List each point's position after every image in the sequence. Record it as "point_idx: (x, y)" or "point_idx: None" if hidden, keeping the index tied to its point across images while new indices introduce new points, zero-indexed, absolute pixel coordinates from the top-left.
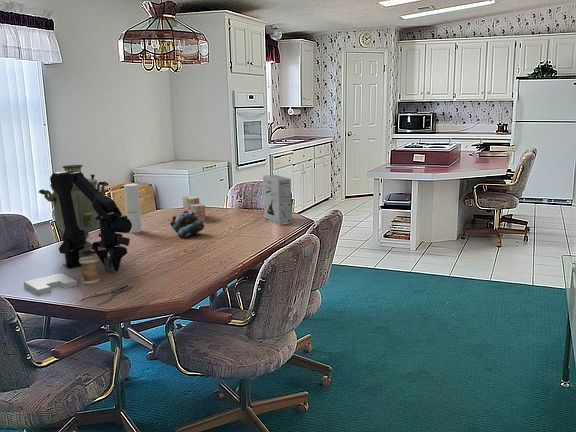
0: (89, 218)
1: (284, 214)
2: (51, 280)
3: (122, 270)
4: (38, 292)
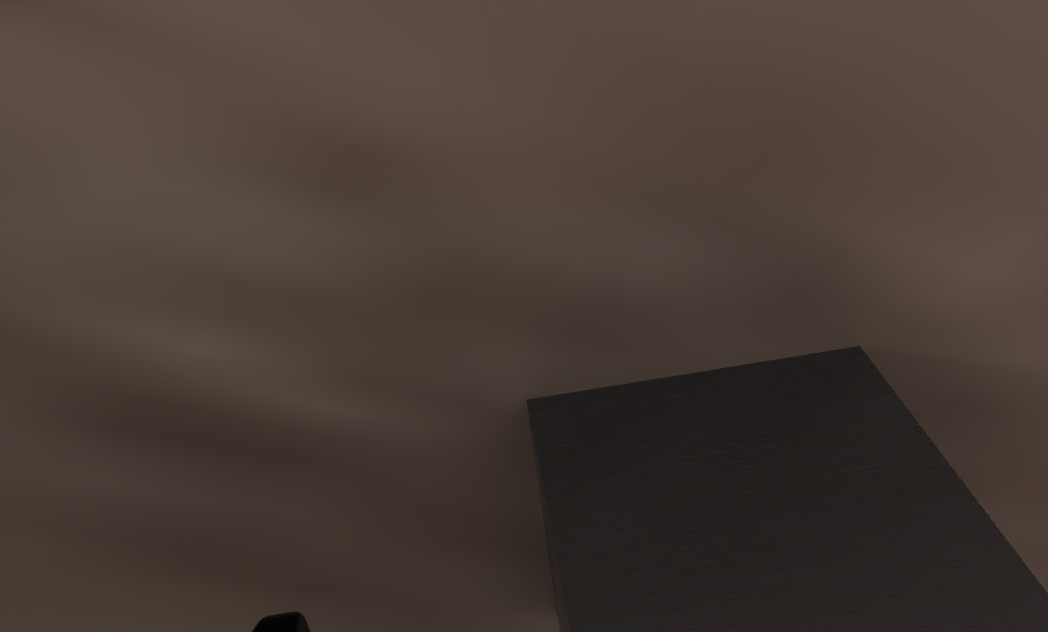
0: None
1: None
2: None
3: (943, 184)
4: None
